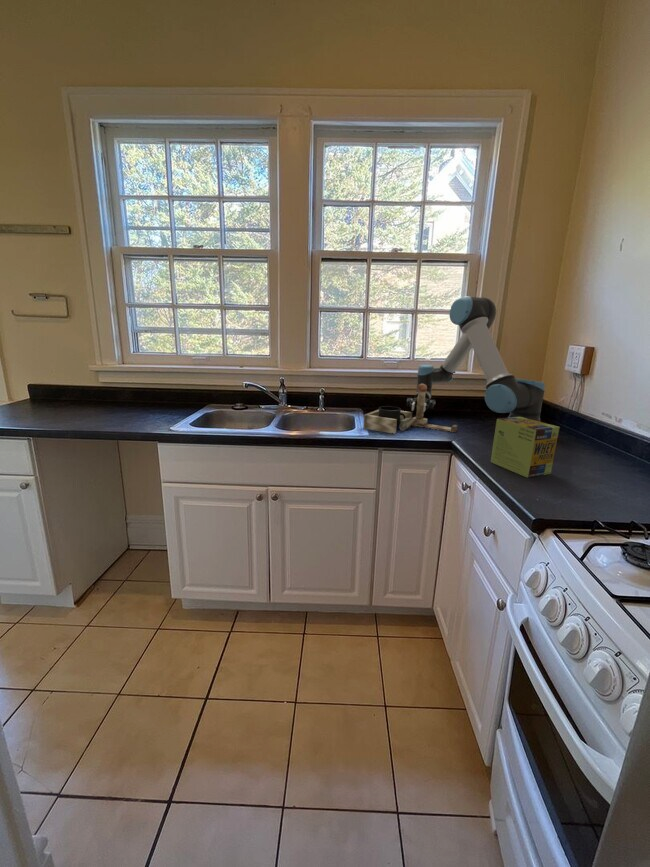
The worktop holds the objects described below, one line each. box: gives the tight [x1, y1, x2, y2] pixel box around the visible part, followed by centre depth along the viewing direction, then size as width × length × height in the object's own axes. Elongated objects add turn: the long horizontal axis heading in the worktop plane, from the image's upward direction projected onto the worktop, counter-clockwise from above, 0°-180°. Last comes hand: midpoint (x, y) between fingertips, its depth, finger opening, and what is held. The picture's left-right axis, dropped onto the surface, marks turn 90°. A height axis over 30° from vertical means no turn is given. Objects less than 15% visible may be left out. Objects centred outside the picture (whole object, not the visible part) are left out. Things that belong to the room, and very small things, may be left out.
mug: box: [378, 405, 405, 431], centre depth 173 cm, size 9×12×9 cm
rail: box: [411, 423, 459, 433], centre depth 178 cm, size 26×4×2 cm, turn 57°
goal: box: [362, 408, 413, 435], centre depth 176 cm, size 15×19×6 cm
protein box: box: [490, 416, 561, 479], centre depth 127 cm, size 10×15×16 cm
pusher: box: [399, 384, 428, 432], centre depth 173 cm, size 6×16×19 cm, turn 147°
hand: (418, 408), depth 173 cm, fingers open, 4 cm apart
